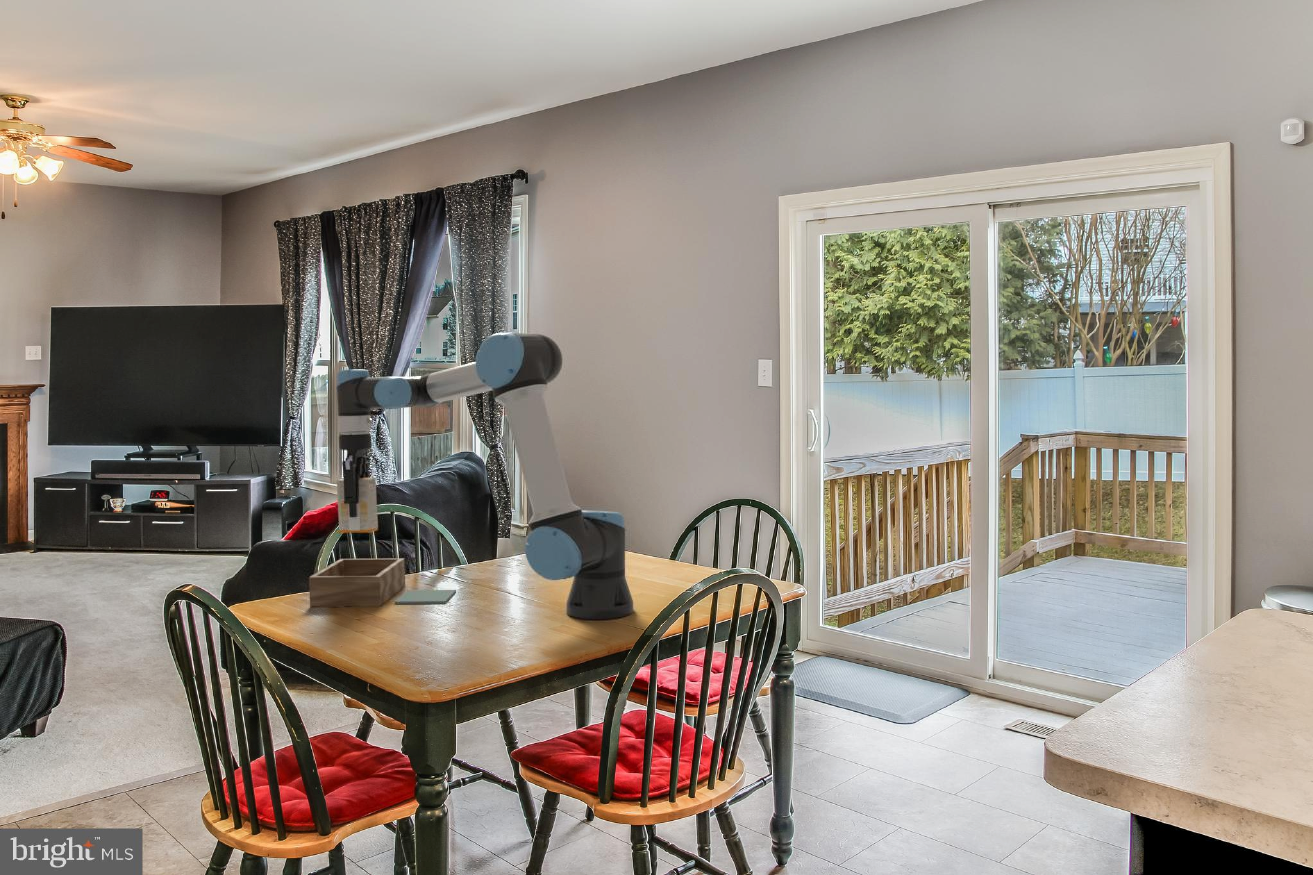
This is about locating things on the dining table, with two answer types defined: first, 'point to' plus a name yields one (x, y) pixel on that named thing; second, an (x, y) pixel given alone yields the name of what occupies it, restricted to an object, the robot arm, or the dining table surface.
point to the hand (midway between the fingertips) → (358, 528)
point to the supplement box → (366, 506)
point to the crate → (357, 582)
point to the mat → (425, 597)
